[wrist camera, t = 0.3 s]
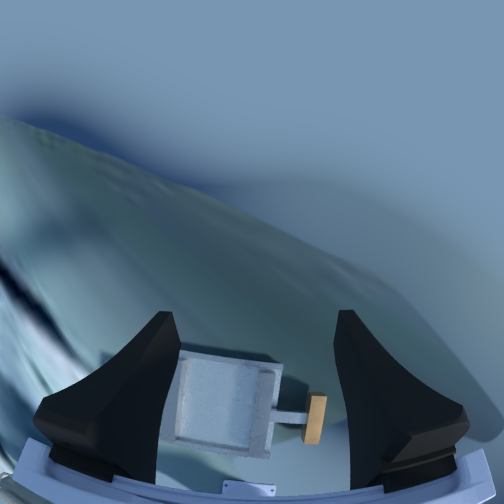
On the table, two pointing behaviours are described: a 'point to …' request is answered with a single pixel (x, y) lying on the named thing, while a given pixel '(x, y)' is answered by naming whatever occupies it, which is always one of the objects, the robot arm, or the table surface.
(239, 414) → the vise bed
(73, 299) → the table surface
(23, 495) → the geiger counter
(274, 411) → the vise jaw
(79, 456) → the robot arm
